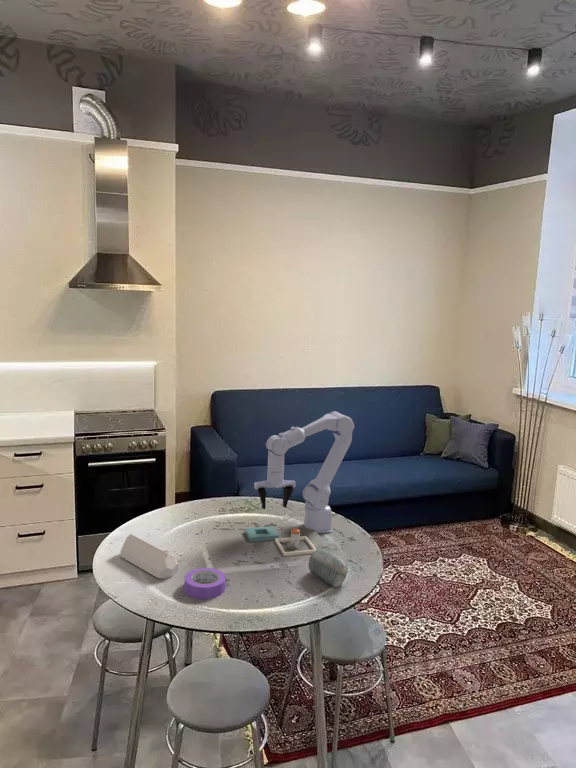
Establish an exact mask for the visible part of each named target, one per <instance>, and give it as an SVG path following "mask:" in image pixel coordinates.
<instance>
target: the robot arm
mask: <svg viewBox="0 0 576 768" xmlns="http://www.w3.org/2000/svg"><path fill="white" fill-rule="evenodd" d="M354 429H355V423H354V421H353V419H352V418H351V417H350V416H347V415H345V414H342V413H340V412H339V411H335V410H334V411H331V412H329V413H326V414H324V415H323V416H322V417H320V418H319V419H316V420H315V421H313V422H311V423H309V424H307V425H306V426H303V427H299V426H296V427H295V426H291V427H290V429H289V430H287V431H284V432H280V433H278V435H276V434H274V435H271V436H269V438H267V441H266V442H265V447H266V449H267V450H268V453H267V469H266V470H267V473H266V475H267V476H266V477H267V478H266V480H262V481H257V482H253V487H254V490H256V491H257V492H258V495H259V498H260V502H261V507H262V509H263V510H266V500H267V499H266V498H267V491H266V489H275V488H276V489H280V488H282V495H283V496H282V506H283V508H287V505H288V502H289V500H290V498H291V495H292V494H293V492H294V488H296V487H297V486H296V484H297V482H296V480H292V479H291V480H290V479H289V480H288V479H284V475H285V473H284V472H285V454H286V453H287V451H288V450H289V449H290V448H292V447H295V446H297V445H299V444H301V443H304V442H305V439H306V437H309V436H312V435H315V434H317V433H320V432H322V431H325V430H328V431H331V432H332V435H333V437H334V438H335V439H334V442H333V444H332V446H331V447H330V450H329V452H328V454H327V455H326V458H325V460H324V462H323V463H322V466H321V467H320V469H319V472H318V473H317V475H316V478H314V479H311V480H310V482H309V484H307V485H306V486H305V487H304V489H303V491H302V498H303V499H304V500H305V503H304V520H303V526H304V528H306V529H308V530H313V531H315V532H316V534H327V533H332V530H331V529H332V508H331V507H330V505H328V504H329V502H330V501H329V500H330V499H329V498H330V495H331V494H332V493H331V487H330V485H331V483H332V481H333V479H334V477H335V475H336V474H337V471H338V469H339V467H340V465H341V463H342V462H343V459H344V458H345V455H346V454H347V451H348V450H349V448H350V446H351V443H352V441H353V431H354Z"/></svg>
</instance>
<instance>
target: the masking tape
mask: <svg viewBox="0 0 576 768" xmlns="http://www.w3.org/2000/svg"><path fill="white" fill-rule="evenodd" d="M183 586H184V592H185V594H186V595H187V596H188V597H190V598H192V599H197V600H211V599H214V598H218V597H220V596H221V595H222V594H224V592H225V590H226V574H225V573H224V572H223V571H222V570H219V569H217V568H213V567H199V568H194V569H192V570H190V571H188V572H187V573H186V574H185V576H184V585H183Z"/></svg>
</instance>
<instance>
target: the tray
mask: <svg viewBox="0 0 576 768" xmlns="http://www.w3.org/2000/svg"><path fill="white" fill-rule="evenodd" d="M300 541H305V542H306V543H307V544H308V546H309V547H310V548H311V549H308V550H295V551H285V550H284V548H283V546H282V544H281V543H286V542H291V536H290V537H281V538H278V539H275V540H274V543H275V544H276V545H277V547H278V549H279V551H280V552H281V553H282V555H283V557H291V556H293V557H294V556H301V555H312V553H313V552H314V551H315V550H317V549H318V548H316V547H315V546H314V544H313V543H312V541H311V540H310V539H309V538H308V537H307V535H304V536H300Z"/></svg>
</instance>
